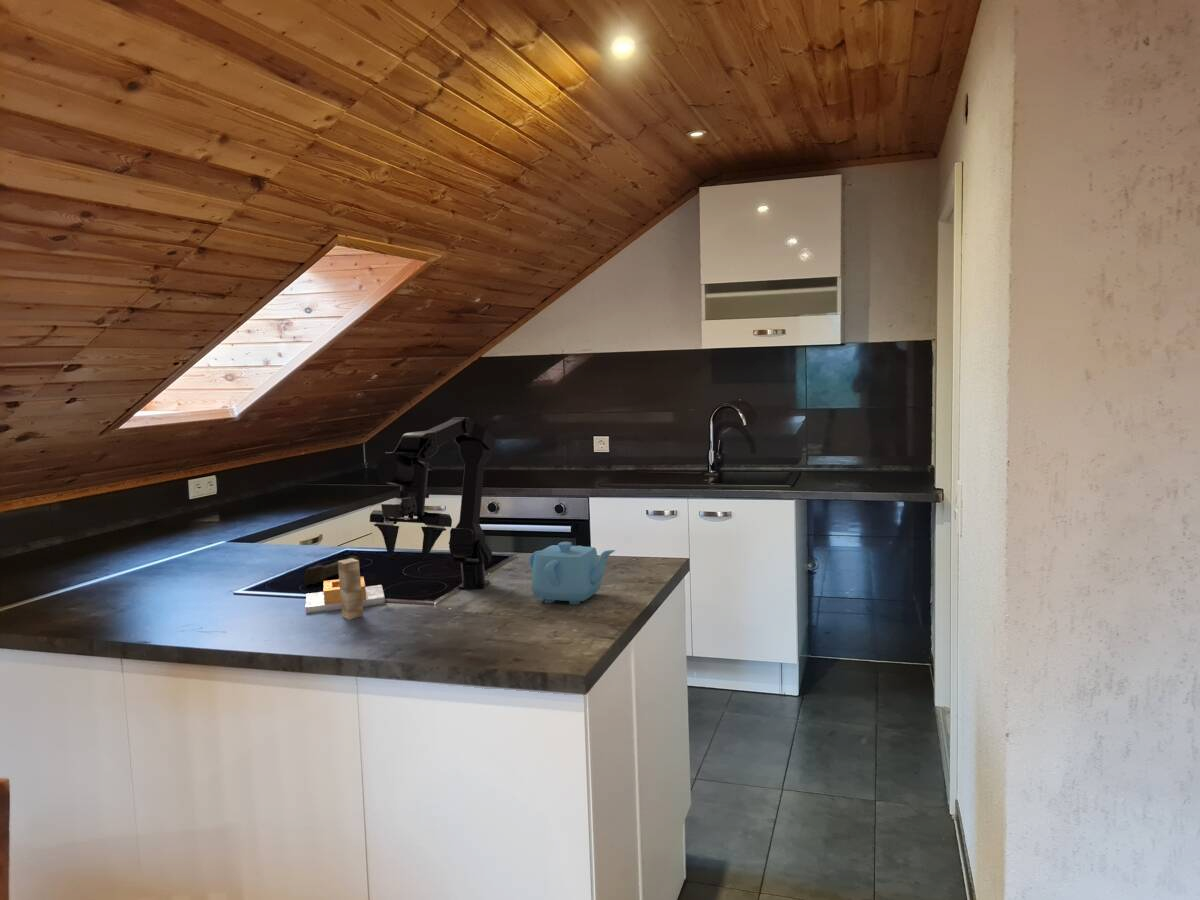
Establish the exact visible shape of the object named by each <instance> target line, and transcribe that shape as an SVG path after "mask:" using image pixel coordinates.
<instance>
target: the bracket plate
mask: <svg viewBox="0 0 1200 900" xmlns="http://www.w3.org/2000/svg"><path fill="white" fill-rule="evenodd" d="M360 581H361V594H362V606H363V607H369V606H370V607H371V606H376V605H377V606H378V605H385V604H386V599H385V592H384V589H383V585H382V584H377V585H370V586H369V585H368V586H366V582H365V578H364V576H360ZM322 590H323V591H318V592H311V593H309V592H308V593H306V595H305V597H306V598H305V614H313V613H322V612H328V611H336V610H342V607H341V595H340V583H339V578H338V579H330V580H329V579H328V580H324V581H323V589H322Z"/></svg>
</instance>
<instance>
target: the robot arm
mask: <svg viewBox="0 0 1200 900" xmlns="http://www.w3.org/2000/svg"><path fill="white" fill-rule="evenodd" d="M451 441H453V442H454V443H455V444H456V445H457V447H459V448H458V449H459V450H458V451H459V455H460V459H461V460H462V462H463V464H464V469H463V479H462V489H461V490H462V491H461V499H460V500H461V502H460V510H459V511H460V513H459V519H458V520H459V521H458V523H457V524H456V526H455V527H452V523H453V519H452V517H451V515H450V514H449V513H441V512H428V511H426V510H425V507H426V506H425V505H426V499H429V498H430V493H427V486H428V485H427V483H428V473H429V471H433V470H434V467H433V465H432V464H431V463H430V460H429V459H430V458H431V457H433V456H434V455H435V454H436V453H437V452H438V451H439V447H441V446H443V445H445V444H447V443H449V442H451ZM494 446H495V438H494V436H493V435H492V434H491V432H489V431H488V430H487V429H486V428H485V427H483V426H482V425H479V424H477V423H476V422H474V420H473V419H471V418H470V417H467V416H465V417H464V416H462V417H461V416H457V417H456V416H455V417H452V418H450V419H449V420H447V421H445V422H443V423H441V424H438V425H436V426H434V427H431V428H430V429H427V430H423V431H422V430H421V431H420V430H419V431H411V432H405V433H403V434H402V436H401V437H400V440H399V441H398V443H397V445H396V446H395V448H394V449H393V451H391V452H387V451H386V452H385V453H384V454H385V455H384V457H383V458H382V459H381V460H379V462H378V464H377V465H376V468H375V474H376V477H377V479H378V481H380V482H381V483H383V484H389V485H393V486H394V485H395V486H400V489H399V490H396V492H395V494H394V495H395V496H394V498H390V499H387V500H385V501H383V502H381V503H380V507H381V509H380V510H378V509H376V510H375V509H374V510H372V512H371V513H370V514H369V523H373V526H374V527H377V528H378V529H379V531H380V532H381V535H382V537H383V540H384V545H385V548H386V551H387V552H386V553H387V556H389V557H393V555H394V552H395V548H396V543H397V538H398V534H399V529H400V525H397V524H398V523H410V524H411V523H414V524H424V525H425V526H421V527H420V528H421V531H422V533H423V535H422V536H423V537H422V547H421V548H422V549H421V557H422V559H427V557H428V556H429V554H430V553H431V550H433V548H434V545H435V543H436V542H437V541H438V539H439V538H440V536H441V535H442V533H443V532H446V531H447V528H451V527H452V528H451V529H450V531H449V541H448V546H449V547H448V548H449V553H450V556H451V558H452V562H453V564H456V563H458V564H460V568H461V569H460V570H461V583H460V584H459V585H458V586H457V589H463V590H464V589H470V590H471V589H473V590H475V589H476V590H477V589H479V590H481V589H484V588H485V587H486V586H487V585H488V584H489V583H490V579H486V574H485V565H486V564H490V562H491V561H492V557H493V556H492V555H493V552H492V550H491V549H490V548H489V547H488V545H487V544H486V543H485V532H484V531H483V528H482V527H481V525H480V518H481V507H482V496H483V487H484V486H483V485H484V474H485V467H486V465H487V464H488V463H489V461H490V459H491V458H492V455H493V451H494ZM445 527H446V528H445Z"/></svg>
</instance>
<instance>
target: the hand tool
mask: <svg viewBox="0 0 1200 900" xmlns="http://www.w3.org/2000/svg"><path fill="white" fill-rule="evenodd" d="M351 558H353V559H356V560H358V561H359V569H360V568H361V560H360V557H358V556H357V555H350V556H348V557H346V558H344V559H343V558H342V559H340V560H337V561H335V562H333V563H330V564H327V565H321V564H317V565H315V566H311V567H307V568H306V571H305V574H304V586H310V585H309V584H312V585H314V584H313V583H316V582H320V583H322V582H321V581H323V582H324V581H326V580H327V579H328V578H332V577H334V576H337V575H339V571H338V561H341V560H346V559H351ZM316 584H317V583H316Z"/></svg>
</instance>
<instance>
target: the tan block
mask: <svg viewBox="0 0 1200 900" xmlns="http://www.w3.org/2000/svg"><path fill="white" fill-rule="evenodd" d="M345 559H346V560H342V559H340V560H341V561H340V560H337V561H338V571H339V574H338V579H339V583H340V595H341V607H342V609H341V616H342V618H344V619H346V620H353V619H357V618H361V617H364V609H363V608H364V606H362V594H361V581H360V577H361V571H360V568H359V561H358V560H356V559H353V558H351V559H347V558H345Z"/></svg>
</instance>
